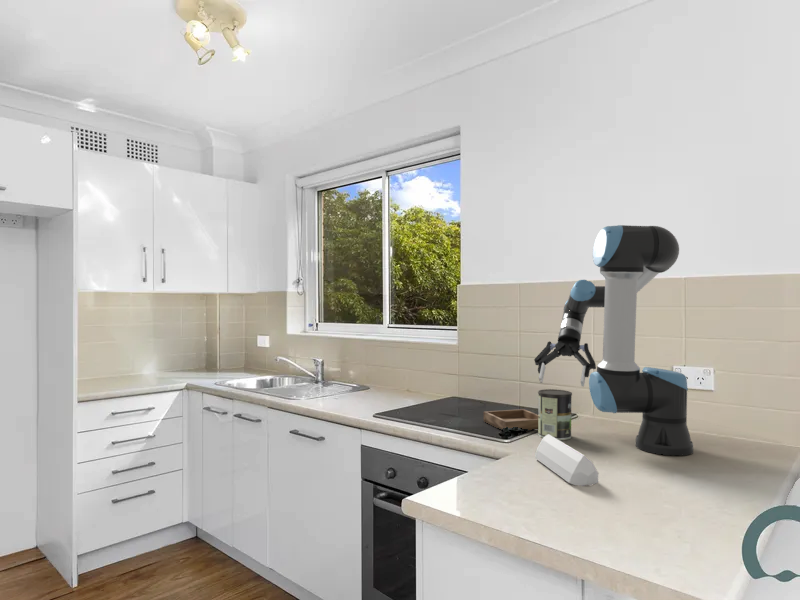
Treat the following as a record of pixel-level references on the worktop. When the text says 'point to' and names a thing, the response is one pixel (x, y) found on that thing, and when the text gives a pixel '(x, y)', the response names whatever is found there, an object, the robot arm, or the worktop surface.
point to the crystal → (566, 462)
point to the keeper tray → (511, 419)
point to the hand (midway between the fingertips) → (561, 382)
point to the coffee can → (554, 414)
